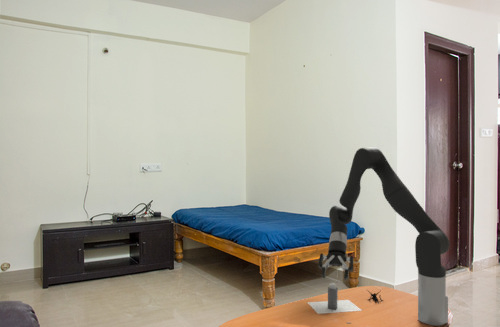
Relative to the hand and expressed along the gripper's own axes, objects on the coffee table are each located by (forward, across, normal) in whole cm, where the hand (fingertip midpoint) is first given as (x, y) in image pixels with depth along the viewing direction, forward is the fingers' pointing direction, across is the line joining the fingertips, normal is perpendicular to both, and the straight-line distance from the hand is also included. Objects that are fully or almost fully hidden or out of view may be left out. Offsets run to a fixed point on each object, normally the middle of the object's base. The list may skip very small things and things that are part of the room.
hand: (334, 278), depth 157 cm
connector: (+11, 0, +3) cm, 12 cm away
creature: (+3, +16, +14) cm, 21 cm away
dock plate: (+11, 0, +5) cm, 12 cm away
